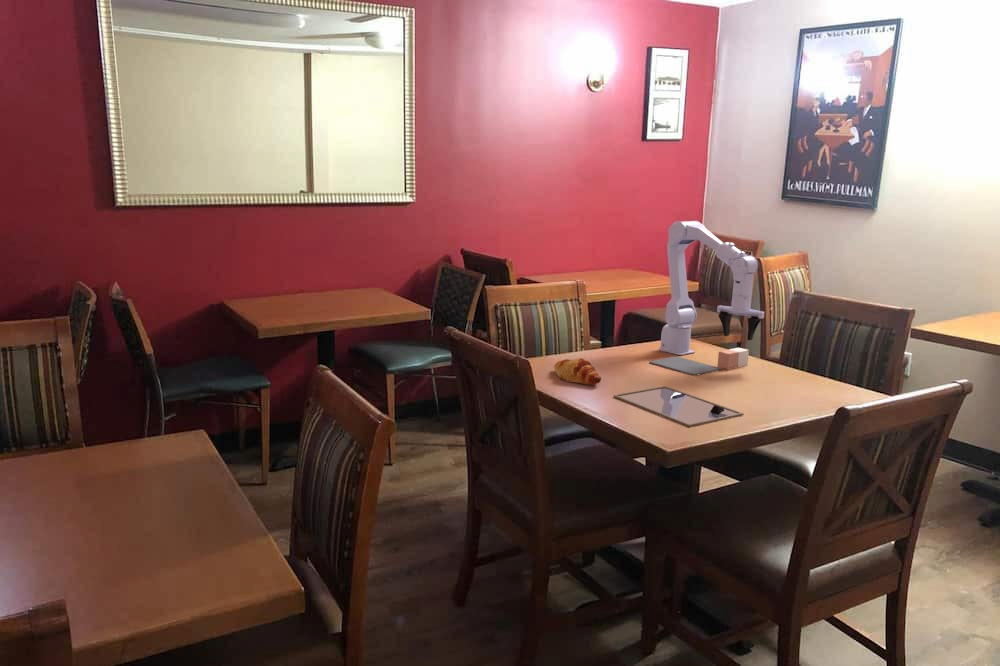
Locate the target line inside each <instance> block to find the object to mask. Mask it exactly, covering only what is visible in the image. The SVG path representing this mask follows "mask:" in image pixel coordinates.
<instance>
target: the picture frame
mask: <svg viewBox="0 0 1000 666" xmlns="http://www.w3.org/2000/svg"><path fill="white" fill-rule="evenodd" d="M614 398H615V399H617V400H620V401H622V402H624V403H626V404H629V405H631V406H634V407H638V408H639V409H642V410H644V411H646V412H650V413H651V414H654V413H655V414H654V415H657V414H658V415H657V416H659V415H661V416H660V417H662V416H663V417H662V418H664V417H666V418H665V419H667V418H668V419H667V420H670V419H671V420H670V421H672V420H673V421H672V422H675V423H678V424H679V425H680V424H681V425H682V424H683V425H682V426H685V425H686V426H685V427H687V426H688V428H691V426H693V427H696V426H695V425H697V426H701V425H700V424H702V425H705V423H706V424H710V422H711V423H714V421H715V422H719V421H718V420H720V421H723V419H724V420H728V419H727V418H729V419H732V418H731V417H733V418H736V416H738V417H740V415H742V416H744V412H741V411H738V410H736V409H732V408H729V407H726V406H724V405H720V404H718V403H715V402H713V401H710V400H707V399H703V398H701V397H699V396H695V395H693V394H690V393H687V392H685V391H684V392H683V391H681V390H679V389H675V388H672V387H670V386H666V385H664V386H658V387H653V388H647V389H641V390H636V391H629V392H624V393H618V394H613V399H614Z"/></svg>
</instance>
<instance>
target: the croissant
mask: <svg viewBox="0 0 1000 666" xmlns="http://www.w3.org/2000/svg"><path fill="white" fill-rule="evenodd" d="M553 367H554V373H555V374H556V375H557V376H558V377H559V379H561V380H564V381H567V382H569V383H576V384H581V385H587V386H595V385H597V384H600V382H601V381H602V377H601V376H600V375H599V373H598V372H596V368H595V366H593V364H592V363H591V362H590V361H589V360H588V359H585V358H583V357H580V358H579V357H578V358H572V359H569V358H567V359H566V358H565V359H562V360H559V361H557V362H556V363H555V364H554V366H553Z"/></svg>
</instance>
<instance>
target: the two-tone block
mask: <svg viewBox="0 0 1000 666" xmlns="http://www.w3.org/2000/svg"><path fill="white" fill-rule="evenodd" d="M749 350H750V349H746V348H741V347H735V348H729V349H724V350H719V351H718V355H717V365H716V367H719V368H720V367H721V369H723V368H726V369H725V370H727V369H729V370H732V369H731V368H733V369H736V368H735V367H738V368H741V367H740V366H742V367H746V366H745V365H747V366H749V365H748V362H749V352H750V351H749Z"/></svg>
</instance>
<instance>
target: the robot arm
mask: <svg viewBox="0 0 1000 666" xmlns="http://www.w3.org/2000/svg"><path fill="white" fill-rule="evenodd" d="M667 230H668V231H667V233H668V240H667V244H666V247H667V249H666V251H667V261H668V274H669V284H670V285H669V286H670V295H671V299H670V300H669V301H668V302H667V304H666V310H665V313H664V314H665V315H664V319H665V322H666V324H665V325H664V326H663V327H662V329H661V333H660V334H661V335H660V336H661V337H660V348H658V351H662V352H664V353H665V352H666V353H670V354H672V355H677V356H683V355H688V354H689V355H690V354H694V353H695V352H696V351H695V350H692V349H690V346H691V334H692V327H693V324H694V323H695V322H696V320H697V317H698V313H697V310H696V308H695V304H694V303H695V302H694V301H693V300H692V299H691V298H690V297H689V291H688V278H687V266H686V255H685V251H686V249H687V248H688V247H689V245H691V244H692V243H694V242H696V241H700V243H702V244H703V245H706V246H707V247H709V248H710V249H711V250H714V252H715V253H716V257H717V259H719V260H720V261H722V263H724V264H726V265H727V266H728V267H729V268H730V271H731V273H732V276H733V277H732V279H733V285H732V294H731V295H732V297H731V306H727V305H717V307H716V308H717V310H716V312H717V313H719V314H718V318H719V320H720V323H721V326H722V330H723V336H724V337H728V336H730V332H731V331H730V329H731V322H732V317H733V315H737V316H743V317H748V318H747V329H748V330H747V337H746V338H747V339H746V341H752V340H753V337H754V334H755V331H756V329H757V327H758V326H759V324H760V322H761V321H762V319H764V318H765V314H766V313H765V311H762V310H758V309H757V310H756V309H752V308H751V306H752V305H751V304H752V296H753V284H754V274H755V273H757V271H758V268H759V261H758V259H757V258H756V257H755V255H746V252H745V251H741V249H738V248H737V247H736V246H735V243H734V242H728V241H727V242H723V241H722V240H721V239H719V238H718V237H717V236H715V234H713V233H712V232H711V231H710V230H708V229H707V228H706V226H705V225H704V224H703V223H701V222H699V220H690V221H689V220H685V221H679V220H677V221H674V222H673V223H672V224H671V225H670V227H669V228H668V229H667Z"/></svg>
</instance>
